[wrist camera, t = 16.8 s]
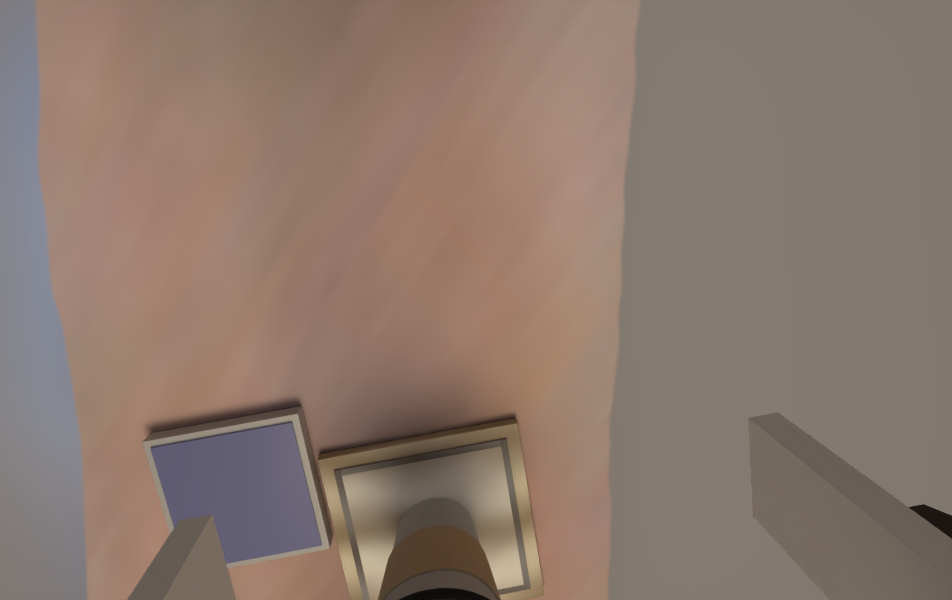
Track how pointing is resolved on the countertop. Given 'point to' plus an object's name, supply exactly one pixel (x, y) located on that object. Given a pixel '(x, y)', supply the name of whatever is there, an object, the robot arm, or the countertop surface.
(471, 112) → the countertop surface
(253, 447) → the ink pad
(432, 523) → the coffee cup
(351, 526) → the board
